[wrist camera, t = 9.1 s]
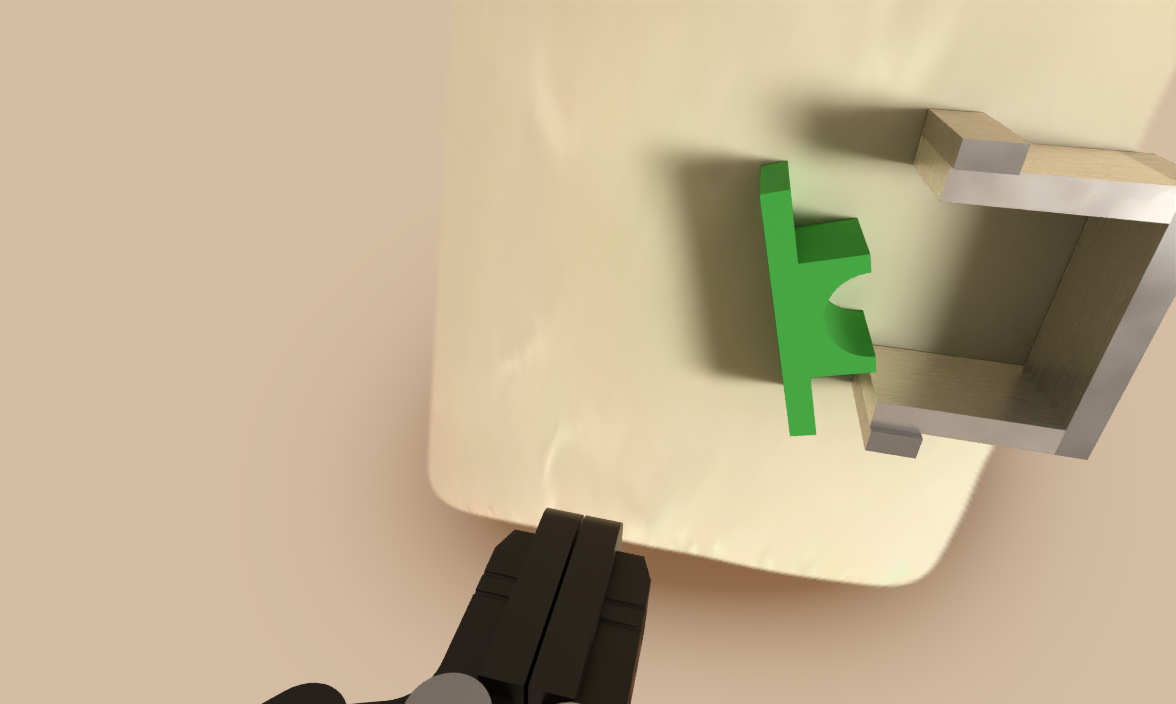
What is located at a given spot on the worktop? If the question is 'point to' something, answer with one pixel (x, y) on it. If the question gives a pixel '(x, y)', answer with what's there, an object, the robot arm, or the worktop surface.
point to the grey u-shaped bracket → (1076, 315)
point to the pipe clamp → (812, 297)
